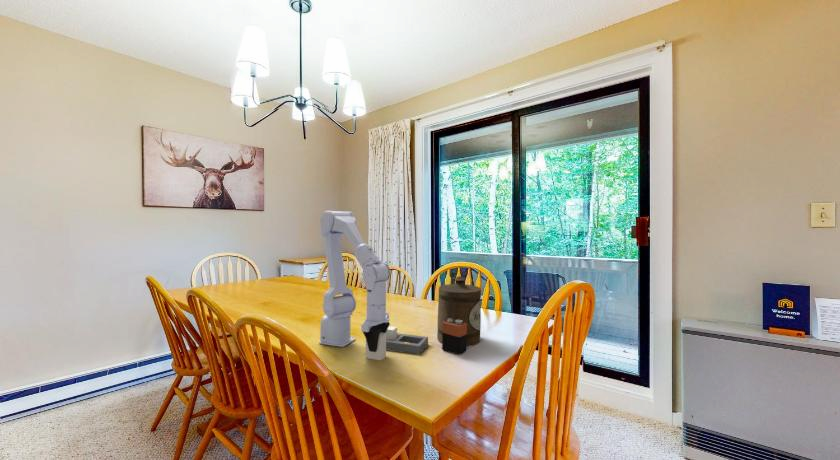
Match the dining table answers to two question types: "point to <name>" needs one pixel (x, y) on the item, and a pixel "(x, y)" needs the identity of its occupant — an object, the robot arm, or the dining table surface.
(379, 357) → the plug
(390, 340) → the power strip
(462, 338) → the battery
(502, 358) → the dining table surface
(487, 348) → the dining table surface
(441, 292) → the wooden container
